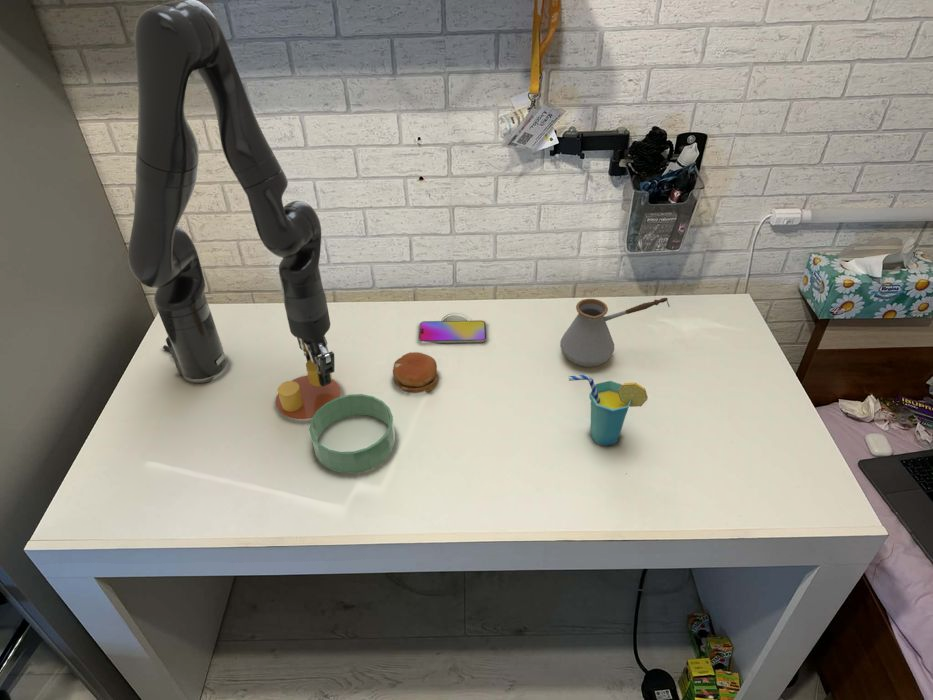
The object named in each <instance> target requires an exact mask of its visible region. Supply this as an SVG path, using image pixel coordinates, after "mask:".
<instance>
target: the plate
mask: <svg viewBox="0 0 933 700" xmlns="http://www.w3.org/2000/svg"><path fill="white" fill-rule="evenodd" d="M291 381H294V382H297V383H298V384H299V387H300V391H301V395H302V399H303V405H302V407H301V408H300V409H298V410H296V411H293V412H288V411H285V410H284V409H283V408H282V405H281V402H280V398H279V395H278V394H277V395H276V398H275V405H276V408H277V410H278V411H279V412H280V413H281V414H282V415H283V416H285V417H288V418H290V419H295V420H309V419H310V420H311V419H312V418H313V416H314V414H315V413H316V411H317V410H318V409H320V408H321V407H322V406H323V405H324V404H325V403H327V402H329V401H331V400H333V399H335V398H338V397H342V396H341V395H342V391H341V387H340V385H339V383H338V382H337V381H336V380H334V379H333V378H332V379H331V383H330V384H328V385H326V386H323V387H322V386H314V385H312V384H310V382H309V379H308V374H307V375H302V376H299V377H297V378H294V379H292V380H291Z"/></svg>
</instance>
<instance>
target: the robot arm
mask: <svg viewBox="0 0 933 700" xmlns="http://www.w3.org/2000/svg"><path fill="white" fill-rule="evenodd" d="M133 41H134V54H135V67H136V79H137V94H138V95H137V96H138V97H137V99H138V104H137V105H138V107H137V140H136V141H137V142H136V153H135V154H136V155H135V157H136V159H135V192H134V208H133V210H134V211H133V220H132V227H131V232H130V237H129V241H128V247H127V263H128V266H129V269H130V270H131V273H132V275H133V276H134V277H135V278H136V280H137V281H138V282H139V283H141V284H142V285H144V286H146V287H149V288H154V289H156V290H155V293H154V297H153V300H154V301H153V302H154V304H155V305H154V306H155V307H156V310H157V313H158V315H159V317H160V319H161V322H162V324H163V327H164V329H165V332H166V334H167V337H166V338H165V343H166V345H165V344H164V345H163V346H162V348H163V349H164V351H165V350H166V351H167V352H169V353H170V354H171V358H172V359H173V362H174V364H175V367H176V369H177V372H178V374H179V375H181V376H182V377H183V378H184V380H186V381H187V382H190V383H194V384H204V383H209V382H211V381H212V380H213V379H214V378H215V377H216V376H218V375H220V374H221V373H223V371H224V370H225V369H226V368H227V365H228V358H227V356H226V354H225V350H224V347H223V344H222V341H221V339H220V336H219V333H218V330H217V326H216V324H215V320H214V318H213V314H212V312H211V309H210V305H209V302H208V299H207V297H206V293H205V291H206V281H205V275H204V272H203V269H202V264H201V261H200V257H199V254H198V250H197V248H196V246H195V243H194V242H193V240H192V238H191V237H190V235H188V233H187V232H186V231H185V230H184V229H182V228H181V227H180V226H178V225H179V223H180V221H181V219H182V216H183V215H184V213H185V210H186V209H187V206H188V204H189V202H190V200H191V197H192V195H193V192H194V190H195V186H196V183H197V177H198V169H199V168H198V167H199V160H200V159H199V158H200V149H199V144H198V140H197V139H196V136H195V134H194V132H193V130H192V128H191V126H190V124H189V122H188V120H187V117H186V113H185V104H186V93H187V87H188V82H189V78H190V77H191V75H192V74H193V73H195V72H197V74H198V75H199V76H200V78H201V79H202V81H203V82H204V85H205V86H206V88H207V90H208V92H209V95H210V97H211V100H212V103H213V107H214V111H215V114H216V120H217V126H218V133H219V137H220V143H221V147H222V151H223V154H224V157H225V160H226V162H227V164H228V166H229V168H230V170H231V171H232V173H233V175H234V176H235V178H236V180H237V182H238V183H239V185H240V186H241V188H242V190H243V192H244V194H245V195H246V197H247V201H248V204H249V208H250V211H251V214H252V218H253V222H254V225H255V228H256V231H257V234H258V237H259V239H260V241H261V243H262V244H263V245H264V247H265V248H266V249H267V250H268V251H269V252H270V253H272V254H273V255H274V256H276V257H279V258H282V259H281V261H280V262H279V265H278V275H279V280H280V285H281V290H282V295H283V296H282V297H283V299H282V300H283V305H284V309H285V310H284V311H285V312H286V318H287V322H288V328H289V331H290V333H291V335H292V336H293V337H295V338H296V339H297V343H298V347H299V349H300V350H301V351H303V356H304V357H305V359H306V362H307V361H308V360H309V359H311V361H312V362H313V363H314V364H315V366H316V369H317V373H318V378H319V383H320V385H321V386H322V387H323V386H326V385H328V384H330V383H331V376H330V373H331V374H333V373H335V370H336V369H335V353H334V352H333V350H332V351H329V348H328V341H327V338H326V336H325V335H326V334H327V333H328V331H329V330H330V328H331V318H330V314H329V307H328V302H327V296H326V292H325V290H324V289H325V288H324V286H323V281H322V276H321V270H320V259H321V249H322V247H321V246H322V225H321V221H320V218H319V216H318V214H317V212H316V211H315V209H314V208H313V207H312V206H311V205H310V204H309V203H307V202H304V201H301V200H293V201H291V202H288V203H287V204H285V205H284V203H283V196H284V194H285V192H286V190H287V189H288V186H289V182H288V181H289V180H288V178H287V176H286V174H285V171H284V170H283V168H282V165H281V164H280V162H279V160H278V159H277V157H276V155H275V153H274V152H273V149H272V148H271V146H270V144H269V142H268V141H267V139H266V137H265V135H264V133H263V130H262V129H261V126H260V124H259V121H258V120H257V116H255V113H254V110H253V108H252V106H251V103H250V100H249V97H248V95H247V93H246V89H245V87H244V83H243V81H242V78H241V76H240V73H239V71H238V69H237V65H236V63H235V60H234V58H233V54H232V52H231V49H230V46H229V44H228V42H227V38H226V35H225V34H224V32H223V29H222V27H221V25H220V24H219V21H218V20H217V18H216V16H215V15H214V13H213V12H212V11H211V10H210V8H209V7H207V5H205V4H204V3H203V2H201V1H199V0H171V1H167V2H165V3H161V4H158V5H155V6H152V7H149V8H147V9H146V10H144V11H143V12H142V13H141V14H140V15H139V16H138V18H137V20H136V22H135V27H134V40H133ZM317 356H319V357H317ZM315 357H316V358H315ZM319 363H320V365H319Z"/></svg>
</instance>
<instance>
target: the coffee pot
mask: <svg viewBox="0 0 933 700" xmlns="http://www.w3.org/2000/svg"><path fill="white" fill-rule="evenodd" d="M668 300H669V299H668V297H662V298H660V299H654V300H653V301H648V302H643V303H640V304H638V305H635V306H633V307H630V308H627V309H625V310H622V311H619V312H616V313H612V314H609V315H607V314H608V311H609V308H608V305H607V304H606V303H605V302H604V301H602V300H600V299H596V298H584V299H581V300H580V301H578V302H577V303H576V305H575V309H576V312H577V313H578V314H577V315H576V317H574V319H573V321H572V322H571V324H570V325H569V327H568V328H567V329H566V331H565V332H564V334H563V335H562V337H561V339H560V343H559V344H560V345H559V346H560V351H561V352H562V354H563V355H564V356H565V358H566V359H567V360H569V361H570V362H572V363H573V364H574V365H576V366H580V367H583V368H593V367H597V366H599V365H602V364H604V363H606V362H608V360H610V358H611V357H612V356H613V355H614V352H615V343H614V340H613V338H612V335H611V332H610V330H609V327H608V324H607V322H608V321H610V320H611V321H612V320H613V319H617V318H619V317H622V316H624V315H629V314H633V313H637V312H640V311H641V312H642V311H644V310H647V309H649V308H651V307H653V306H658V305H659V304H663V303H665V302H666V304H667V307H668V308H670V307H671V306H670V303H669V301H668Z"/></svg>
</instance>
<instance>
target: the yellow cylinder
mask: <svg viewBox="0 0 933 700" xmlns="http://www.w3.org/2000/svg"><path fill="white" fill-rule="evenodd" d="M277 395H279V398H280V402H281V405H282V408H283V409H284V410H285V411H288V412H293V411H296V410H298V409H300V408H301V407H302V405H303V399H302V395H301V391H300V387H299V384H298V383H297V382H294V381H292V380H287V381H284V382H282V383H281V384H279V386H277Z"/></svg>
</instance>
